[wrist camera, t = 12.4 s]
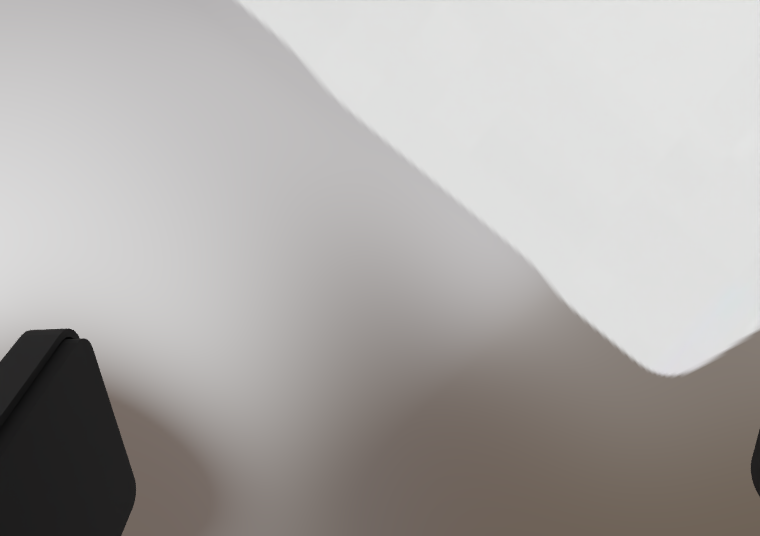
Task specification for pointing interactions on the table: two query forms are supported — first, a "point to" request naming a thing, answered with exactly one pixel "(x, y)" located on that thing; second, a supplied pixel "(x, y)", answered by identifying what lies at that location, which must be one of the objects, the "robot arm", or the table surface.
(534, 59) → the table surface
